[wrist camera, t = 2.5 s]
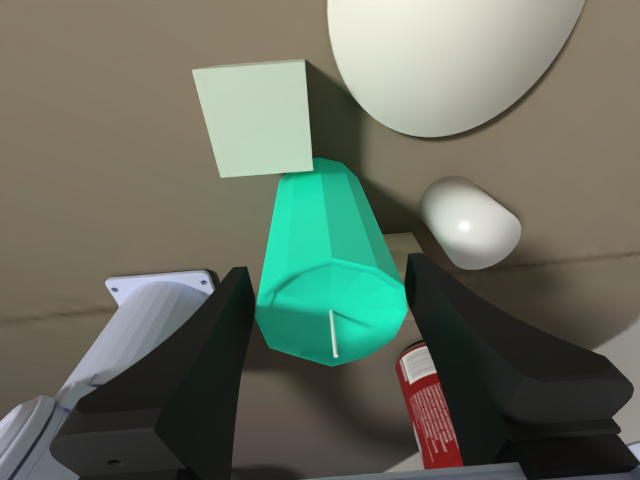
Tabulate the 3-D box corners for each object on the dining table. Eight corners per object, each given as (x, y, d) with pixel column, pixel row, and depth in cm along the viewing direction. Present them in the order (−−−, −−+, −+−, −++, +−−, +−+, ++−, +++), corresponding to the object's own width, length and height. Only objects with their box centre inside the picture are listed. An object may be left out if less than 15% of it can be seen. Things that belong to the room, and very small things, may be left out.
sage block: (311, 144, 18) (313, 170, 14) (238, 150, 18) (220, 177, 14) (304, 58, 15) (304, 61, 11) (219, 65, 15) (191, 69, 11)
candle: (299, 139, 17) (294, 262, 7) (380, 182, 19) (463, 328, 9) (261, 216, 20) (220, 381, 10) (335, 248, 22) (361, 414, 12)
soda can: (387, 345, 29) (431, 500, 19) (454, 327, 28) (539, 482, 18) (400, 379, 32) (442, 525, 22) (460, 364, 31) (532, 510, 21)
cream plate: (527, 124, 17) (540, 128, 16) (331, 139, 17) (333, 145, 16) (635, -212, 11) (669, -239, 10) (318, -189, 11) (319, -214, 10)
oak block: (405, 276, 24) (424, 318, 20) (352, 281, 24) (360, 323, 20) (411, 231, 21) (433, 269, 18) (351, 236, 21) (361, 275, 18)
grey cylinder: (468, 224, 21) (508, 267, 17) (415, 229, 21) (442, 272, 17) (481, 173, 19) (531, 207, 15) (422, 178, 19) (455, 214, 15)
